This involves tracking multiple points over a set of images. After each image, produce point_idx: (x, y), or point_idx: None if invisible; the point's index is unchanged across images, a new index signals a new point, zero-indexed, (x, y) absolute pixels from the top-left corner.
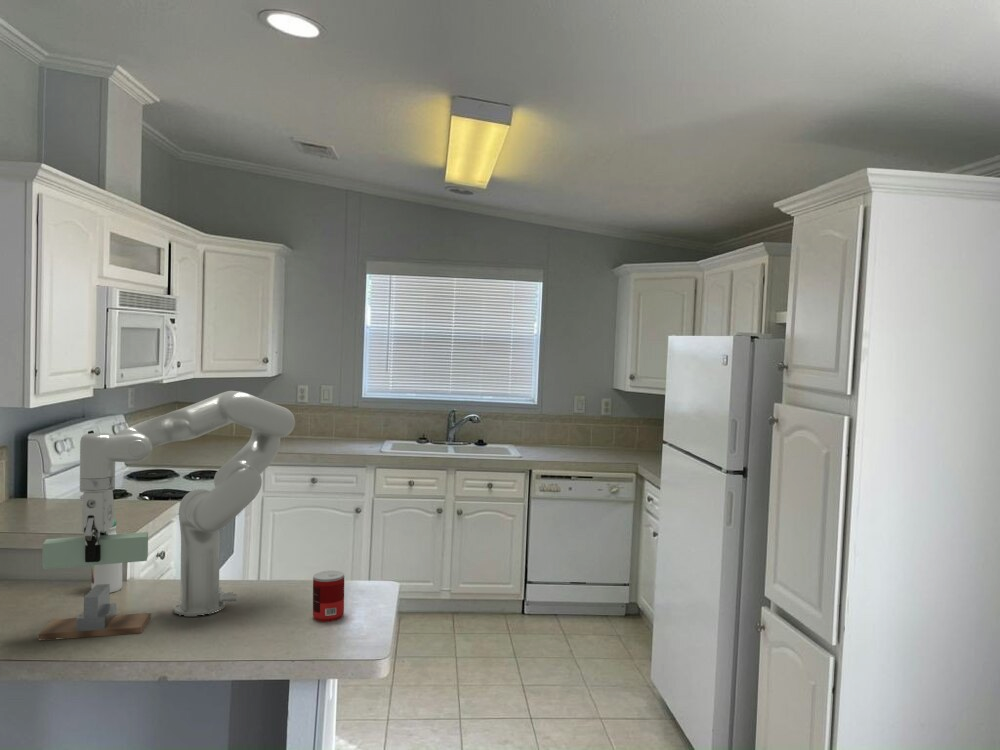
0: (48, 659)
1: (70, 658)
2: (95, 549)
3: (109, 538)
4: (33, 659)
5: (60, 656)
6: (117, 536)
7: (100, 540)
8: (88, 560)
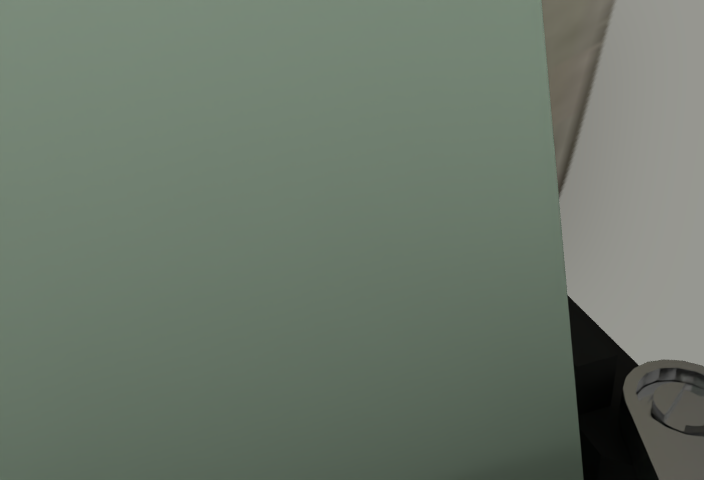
0: (575, 113)
1: (590, 23)
2: (612, 345)
3: (463, 368)
4: (559, 171)
5: (556, 80)
6: (170, 286)
7: (570, 455)
8: None
